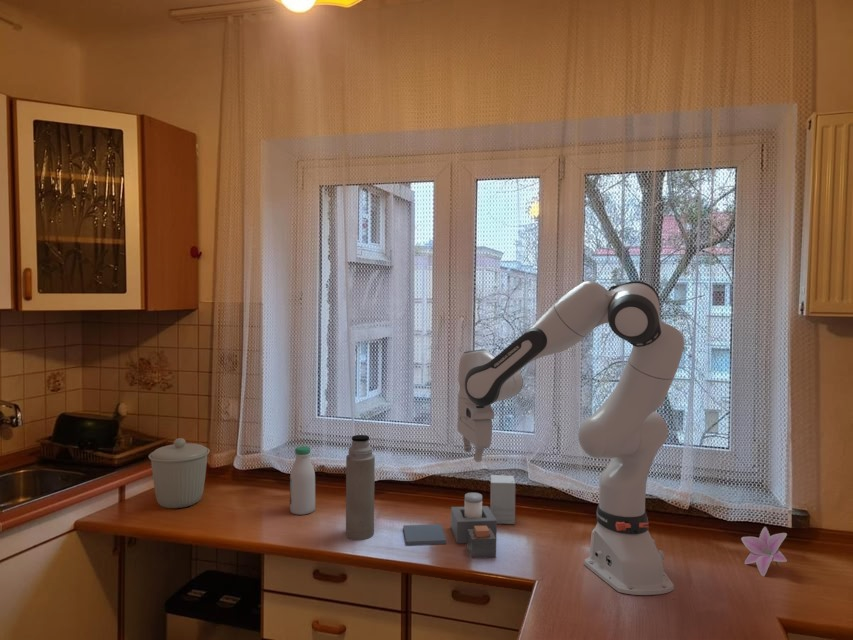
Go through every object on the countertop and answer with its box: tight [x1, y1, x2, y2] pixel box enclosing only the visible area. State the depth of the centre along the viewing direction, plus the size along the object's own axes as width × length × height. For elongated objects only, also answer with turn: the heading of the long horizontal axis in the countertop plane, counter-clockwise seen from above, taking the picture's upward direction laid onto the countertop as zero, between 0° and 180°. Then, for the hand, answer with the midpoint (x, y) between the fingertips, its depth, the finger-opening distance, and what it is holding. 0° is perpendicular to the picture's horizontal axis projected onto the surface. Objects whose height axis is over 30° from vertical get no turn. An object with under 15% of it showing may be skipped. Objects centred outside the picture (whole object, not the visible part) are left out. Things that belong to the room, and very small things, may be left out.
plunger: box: [474, 526, 489, 537], centre depth 149 cm, size 3×3×6 cm
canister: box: [148, 437, 211, 509], centre depth 182 cm, size 18×18×21 cm
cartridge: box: [464, 492, 483, 518], centre depth 161 cm, size 5×5×11 cm
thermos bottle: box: [345, 434, 376, 541], centre depth 160 cm, size 8×8×28 cm
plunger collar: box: [466, 529, 497, 559], centre depth 150 cm, size 6×6×5 cm
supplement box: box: [489, 474, 516, 525], centre depth 172 cm, size 7×7×13 cm
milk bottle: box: [289, 445, 316, 516], centre depth 177 cm, size 8×8×20 cm
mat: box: [402, 523, 447, 546], centre depth 159 cm, size 11×11×1 cm
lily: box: [741, 526, 788, 577], centre depth 143 cm, size 12×12×10 cm
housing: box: [450, 505, 498, 544], centre depth 161 cm, size 11×11×6 cm
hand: (472, 456), depth 158 cm, fingers open, 8 cm apart
